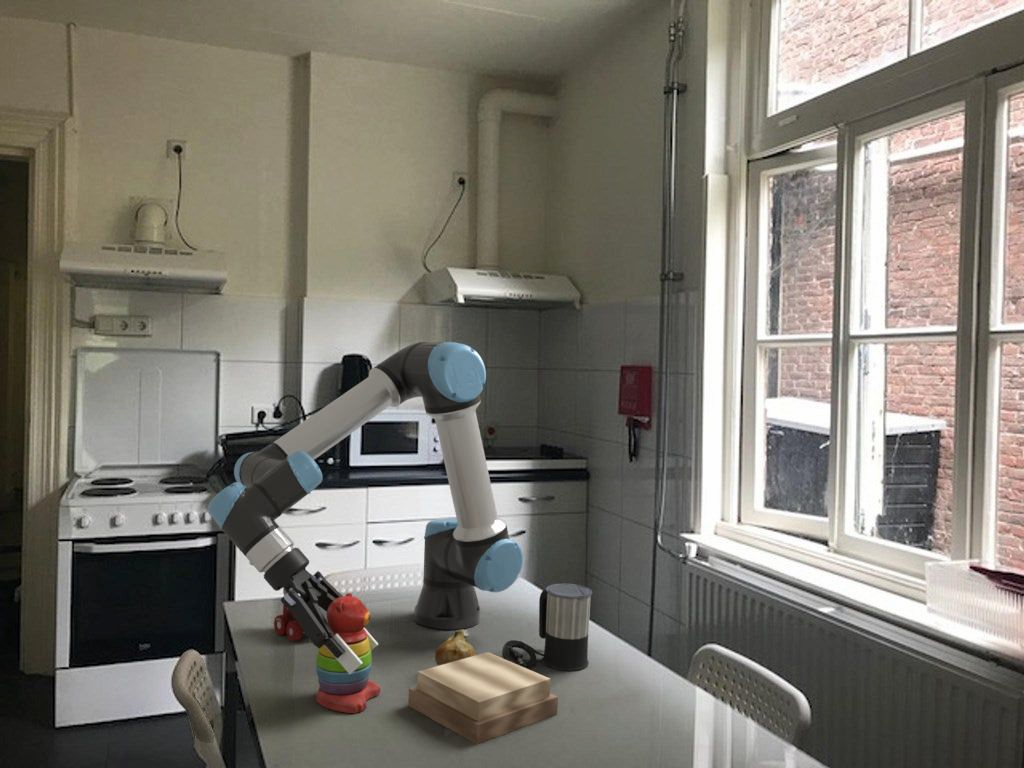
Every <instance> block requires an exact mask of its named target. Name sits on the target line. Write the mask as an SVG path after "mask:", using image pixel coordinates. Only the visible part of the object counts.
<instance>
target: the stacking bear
mask: <svg viewBox="0 0 1024 768" xmlns="http://www.w3.org/2000/svg"><path fill="white" fill-rule="evenodd" d="M370 620H371V613H370V611H369V609H368V607H366V606H365V604H364V603H363V602H362V601H361V599H359V598H358V597H355V596H353V594H352V593H351V592H349V593H346V594H345V595H344V596H343V597H339V598H337V599H335V600H334V601H332V602H331V604H330V605H329V607H328V610H327V612H326V621H327V623H328V624H329V626H330V628H331V630H332V632H333V634H334V636H335V635H336V634H338V635H339V636H340V637H341V638H342V639H343V641H344V642H345V643H346V644H347V645H348V646H349V647H350V649H351V650H352V651H353V652H354V653H355V654H356V655H357V657H358V658H359V659H360V660H361V661H362V662H363V663H362V664H361V665H360V666H359V667H358V668H357V669H356V670H355V671H353V672H352V673H351V674H349V673H348V672H347V671H346V670H345V669H344V667H343V666H342V665H341V664H340V663H339V662H338V660H337V659H336V658H335V657H334V656H333V655H332V654H331V652H330V651H329V650H328V649H327V648H326V647H325V645H323V646H322V647H321V648H318V650H317V654H316V662H315V663H316V664H315V668H316V669H315V670H316V676H317V679H318V680H317V681H318V685H319V687H318V689H317V692H316V696H315V700H316V702H317V703H318V704H319V705H321V706H322V707H324V708H327V709H329V710H332V711H336V712H340V713H349V714H357V713H361V712H363V711H364V710H365V709H367V701H368V700H370V699H372V698H375V697H377V696H379V695H380V693H381V687H380V685H379V684H378V683H376V682H374V681H371V680H369V677H370V674H371V670H372V669H371V668H372V660H373V659H372V658H373V657H372V656H373V655H372V651H371V649H370V644H369V640H368V637H367V632H366V631H365V630H364V629H363V628H365V627H367V625H368V624H369V622H370ZM334 636H333V637H334Z"/></svg>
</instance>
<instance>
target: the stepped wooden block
mask: <svg viewBox="0 0 1024 768" xmlns="http://www.w3.org/2000/svg"><path fill="white" fill-rule="evenodd" d="M416 681H417V682H416V686H412V687H409V688H408V701H407V703H408V704H407V706H408V707H410V708H411V709H413V710H415V711H416V710H417V712H418V713H420V714H422V715H424V716H425V717H427V718H429V719H431V720H433V721H434V722H436V723H438V724H440V725H442V726H444V727H445V728H447V729H449V730H450V731H452V732H453V733H456V734H458V735H459V736H461V737H463V738H464V739H466V740H469V741H471V742H472V743H474V744H476V745H478V744H479V745H480V744H481V743H484V742H486V741H490V740H492V739H495V738H498V737H500V736H503V735H505V734H508V733H511V732H514V731H517V730H519V729H521V728H524V727H528V726H530V725H532V724H535V723H538V722H540V721H543V720H546V719H548V718H551V717H553V716H556V715H558V705H559V696H557V695H555V694H553V693H551V678H550V677H547V676H545V675H543V674H540V673H538V672H536V671H534V670H530V669H529V668H524V667H522V666H519V665H517V664H515V663H512V662H510V661H508V660H505V659H504V658H503V657H501V656H498V655H497V654H496V655H495V654H493V653H491V652H488V651H487V652H483V653H480V654H479V653H478V654H476V656H472V657H468V658H465V659H461V660H458V661H454V662H450V663H447V664H443V665H440V666H438V665H437V666H433V667H429V668H426V669H422V670H419V671H418V670H417V680H416Z"/></svg>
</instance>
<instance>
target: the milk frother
mask: <svg viewBox="0 0 1024 768" xmlns="http://www.w3.org/2000/svg"><path fill="white" fill-rule="evenodd" d="M592 595H593V591H592V589H590V588H589V587H586V586H584V585H580V584H579V585H578V584H574V583H554V584H551V585H548V586H547V587H546V588H545V589H544V590H542V591H541V592H540V594H539V602H538V603H539V604H538V608H539V609H538V612H539V614H538V618H539V619H538V623H539V624H538V632H539V633H538V635H539V637H540V639H544V640H545V641H544V651H543V653H541V652H539V651H538V650H536V649H535V648H534V647H532V646H530V645H529V644H527V643H525V642H523V641H522V640H516V639H513V640H512V639H511V640H508V641H506V642H505V644H503V647H502V652H501V655H502V658H503V659H505V660H508V661H510V662H512V663H515V664H517V665H519V666H522V667H524V668H526V669H528V668H530V667H533V666H534V665H535V664H536V663H537V662H536V661H537V655H538V656H541V657H542V659H541V660H542V662H543V664H544V665H546V666H547V667H549V668H551V669H556V670H560V671H569V672H570V671H580V670H583V669H585V668H588V666H589V660H588V657H589V656H588V655H589V654H588V652H589V651H588V650H589V647H588V646H589V644H588V643H589V631H590V615H591V614H590V613H591V611H590V610H591V596H592ZM514 648H515V649H514ZM516 649H521V650H523V651H525V652H526V653H527V654H528V656H529V660H525V661H523V657H524V655H523V653H520V652H518V650H516Z"/></svg>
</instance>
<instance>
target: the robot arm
mask: <svg viewBox="0 0 1024 768" xmlns="http://www.w3.org/2000/svg"><path fill="white" fill-rule="evenodd" d="M486 379H487V370H486V366H485V363H484V361H483V359H482V357H481V355H480V354H479V353H478V351H476V350H475V349H473V348H472V347H471V346H469V345H467V344H464V343H458V342H455V341H440V342H439V341H436V342H435V341H434V342H433V341H432V342H431V341H430V342H427V341H419V342H414V343H412V344H411V343H410V344H409V345H407V346H405V347H403V348H401V349H400V350H398V351H396V352H395V353H393V354H391V355H390V356H389V357H387V358H386V359H384V360H382V361H381V362H380V363H378V364H376V365H375V366H374V367H373V368H371V369H370V370H369V372H368V376H367V377H366V378H365V379H364V380H362V381H361V382H359V383H358V384H356V385H355V386H353V387H352V388H351V389H349V390H347V391H346V392H344V393H343V394H342V395H340V396H339V397H337V398H336V399H335V400H333V401H332V402H330V403H328V404H327V405H326V406H324V407H323V408H322V409H320V410H318V411H317V412H316V413H314V414H312V415H311V416H310V417H308V418H307V419H305V420H303V422H301V423H299V424H298V425H296V426H295V427H294V428H292V429H290V430H289V431H288V432H286V433H285V434H283V435H282V436H281V437H279V438H278V439H276V440H274V441H273V442H271V443H270V444H268V445H267V446H266V447H263V448H262V449H261V450H259V451H251V452H247V453H244V454H242V456H240V457H239V458H238V459H237V461H236V462H235V464H234V469H233V475H234V478H235V481H236V482H233V483H231V484H230V485H228V486H225V488H223V489H222V490H220V491H219V492H218V493H217V494H216V495H215V496H214V497H213V498H212V499H211V500H210V502H209V503H208V506H207V512H208V514H209V515H210V517H211V518H212V519H213V521H215V523H216V524H217V525H218V527H219V530H221V531H222V532H223V533H224V534H225V535H226V537H227V538H229V540H230V541H231V542H232V543H233V544H234V545H235V546H236V548H237V549H238V550H239V551H240V552H241V553H242V554H243V555H244V556H245V558H246V559H247V560H248V561H249V562H248V564H249V565H250V566H253V567H254V568H255V569H256V570H257V572H259V573H264V574H263V579H264V580H265V581H266V582H267V584H269V586H270V587H271V588H272V589H273V591H281V590H282V589H283V588H284V590H285V591H286V593H287V594H286V595H285V596H284V595H283V597H282V598H280V601H281V603H282V604H283V605H285V606H286V607H287V608H288V609H289V610H290V612H291V613H292V614H293V616H294V617H295V619H296V620H297V622H298V623H299V624H300V626H301V627H302V629H303V630H304V632H305V633H306V634H307V635H306V636H307V637H308V639H309V641H310V642H311V643H312V645H314V646H315V647H317V648H318V649H319V648H321V647H322V646H323V645H325V647H326V648H327V649H328V650H329V651H330V652H331V654H332V655H333V656H334V657H335V658H336V659H337V660H338V662H339V663H340V664H341V665H342V666H343V667H344V669H345V670H346V671H347V672H348V673H349V674H351V673H352V672H353V671H355V670H356V669H357V668H358V667H359V666H360V665H361V664H362V663H363V662H362V661H361V660H360V659H359V658H358V657H357V655H356V654H355V653H354V652H353V651H352V650H351V649H350V647H349V646H348V645H347V644H346V643H345V642H344V641H343V639H342V638H341V637H340V636H339V635H338V634H336V635H335V636H334V634H333V632H332V630H331V628H330V626H329V624H328V621H327V618H326V617H325V615H324V613H323V611H325V612H326V613H327V610H328V607H329V605H330V604H331V602H332V601H334V600H335V599H337V598H339V597H344V596H343V594H342V593H340V591H338V590H337V589H336V588H335V586H333V585H332V584H331V583H330V582H329V581H328V580H327V579H326V577H324V575H323V574H322V573H321V572H320V571H319V570H317V571H316V572H315V573H314V574H312V573H310V572H309V571H308V570H306V568H307V567H308V565H309V564H310V560H309V558H308V557H307V556H306V555H305V554H304V553H303V552H302V551H301V550H300V547H294V545H295V543H294V541H293V540H292V539H291V537H290V536H288V534H287V533H286V532H285V531H284V530H283V529H282V528H281V526H279V524H278V523H277V522H276V520H277V519H278V518H279V517H281V516H282V515H283V514H284V513H286V512H287V511H288V510H290V509H291V508H292V507H294V506H295V505H296V504H297V503H299V502H300V501H301V500H302V499H304V498H305V497H306V496H308V495H310V494H311V493H312V492H313V490H315V489H316V488H317V487H318V486H319V485H320V484H321V483H322V482H323V472H322V471H321V468H320V466H319V465H318V464H317V462H316V459H317V458H319V457H320V456H322V455H323V454H324V453H326V452H327V451H328V450H330V449H331V448H333V447H335V445H337V444H338V443H340V442H341V441H343V440H344V439H345V438H347V437H348V436H349V435H351V434H352V433H354V432H355V431H356V430H358V429H360V428H361V427H362V426H364V425H365V424H366V423H368V422H369V421H370V420H372V419H373V418H375V417H376V416H378V415H379V414H381V413H382V412H383V411H385V410H386V409H387V408H390V407H392V408H397V407H398V406H400V405H401V404H403V403H405V402H407V401H408V400H412V399H414V398H419V397H420V398H422V401H423V407H424V411H425V414H426V415H428V416H430V418H433V419H434V420H435V426H436V431H437V434H438V438H439V444H440V449H441V452H442V453H441V454H442V458H443V462H444V466H445V470H446V471H445V472H446V475H447V481H448V485H449V489H450V494H451V498H452V503H453V507H454V508H453V509H454V512H455V518H454V517H453V518H440V519H439V518H438V519H433V520H430V521H428V522H427V524H426V526H425V530H424V531H425V532H424V536H423V539H424V554H423V555H424V556H423V577H422V578H423V581H422V583H423V584H422V588H421V590H420V593H419V597H418V600H417V604H416V605H415V606H414V612H413V614H414V615H413V620H414V622H415V623H417V624H419V625H420V626H423V627H426V628H431V629H436V630H437V629H438V630H463V629H467V628H471V627H474V626H476V625H478V624H479V623H480V622H481V612H482V611H481V607H480V605H479V600H478V597H477V592H476V590H475V588H477V589H478V590H481V591H485V592H489V593H493V594H494V593H500V592H503V591H506V590H507V589H509V588H510V587H511V586H513V584H514V583H515V582H516V581H517V579H518V577H519V574H521V572H522V568H523V565H524V552H523V550H522V547H521V546H520V544H518V543H517V542H516V541H515V540H513V539H511V538H510V536H509V532H508V525H507V523H506V521H505V519H503V518H502V517H500V516H498V513H497V508H496V502H495V499H494V493H493V489H492V484H491V483H492V482H491V479H490V478H491V477H490V474H489V470H488V464H487V460H486V454H485V450H484V445H483V439H482V435H481V431H480V427H479V422H478V417H477V409H478V407H479V405H480V404H481V402H482V400H481V396H480V394H481V393H482V391H483V389H484V387H483V386H484V385H485V384H486ZM321 609H322V610H323V611H322V610H321ZM363 629H364V630H365V631H366V632H367V637H368V640H369V644H370V649H371V652H372V651H373V650H374V649H375V648H376V647H377V646H379V642H378V641H377V640H376V639H375V638H374V637H373V636H372V635H371V633H370V632H369V630H367V629H366V628H365V627H364V628H363ZM333 636H334V637H333Z"/></svg>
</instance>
